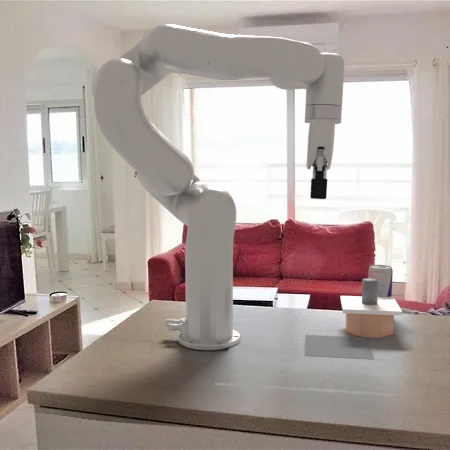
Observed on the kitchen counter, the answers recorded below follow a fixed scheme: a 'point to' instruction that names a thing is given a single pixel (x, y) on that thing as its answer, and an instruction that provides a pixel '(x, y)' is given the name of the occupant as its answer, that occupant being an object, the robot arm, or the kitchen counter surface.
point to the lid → (370, 301)
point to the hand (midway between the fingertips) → (318, 197)
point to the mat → (338, 347)
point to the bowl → (369, 325)
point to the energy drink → (382, 279)
